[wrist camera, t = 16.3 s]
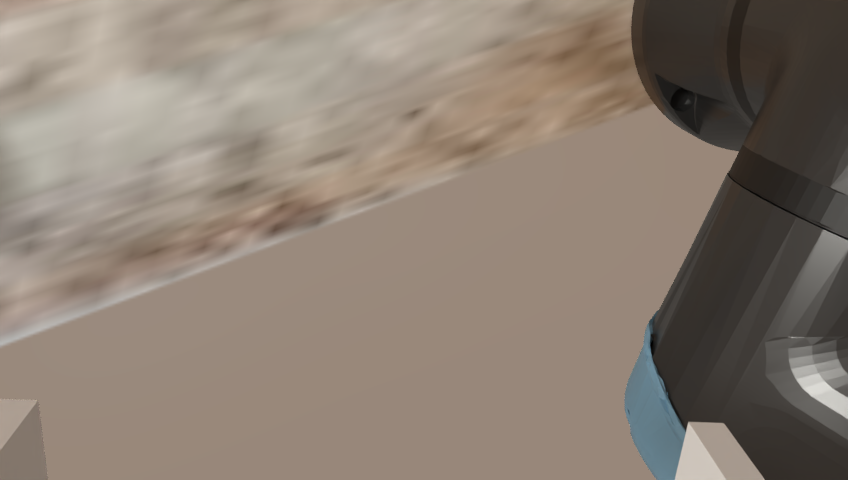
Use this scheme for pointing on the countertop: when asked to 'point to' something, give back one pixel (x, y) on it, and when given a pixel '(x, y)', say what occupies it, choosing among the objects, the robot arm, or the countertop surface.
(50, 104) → the countertop surface
